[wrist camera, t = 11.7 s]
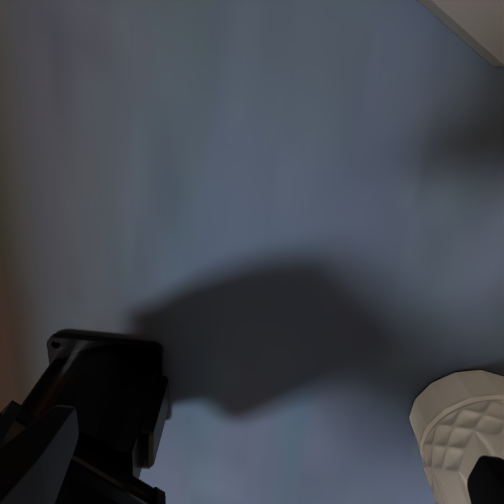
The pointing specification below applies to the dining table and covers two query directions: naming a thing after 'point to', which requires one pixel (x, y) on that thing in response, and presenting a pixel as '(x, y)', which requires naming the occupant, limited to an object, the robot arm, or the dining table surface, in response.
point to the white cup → (458, 429)
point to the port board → (474, 24)
